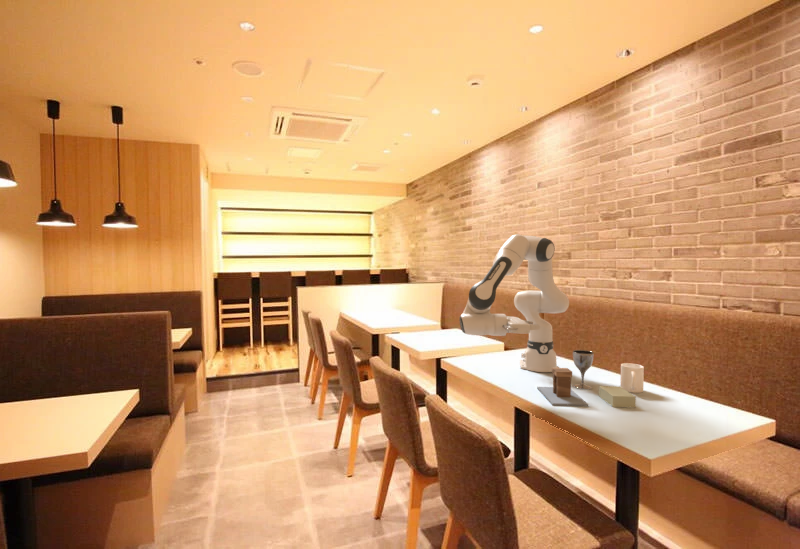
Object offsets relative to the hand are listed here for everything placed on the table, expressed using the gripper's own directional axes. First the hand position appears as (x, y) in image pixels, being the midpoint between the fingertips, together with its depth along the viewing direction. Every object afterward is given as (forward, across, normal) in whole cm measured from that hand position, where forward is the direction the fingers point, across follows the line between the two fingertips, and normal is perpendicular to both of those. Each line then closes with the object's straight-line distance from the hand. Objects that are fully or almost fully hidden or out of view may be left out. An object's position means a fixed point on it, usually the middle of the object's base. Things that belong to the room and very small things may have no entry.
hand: (535, 325), depth 161 cm
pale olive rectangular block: (+29, -6, +28) cm, 41 cm away
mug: (+41, +7, +28) cm, 50 cm away
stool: (+14, -2, +26) cm, 29 cm away
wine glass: (+23, +12, +28) cm, 38 cm away
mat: (+10, -2, +28) cm, 30 cm away
